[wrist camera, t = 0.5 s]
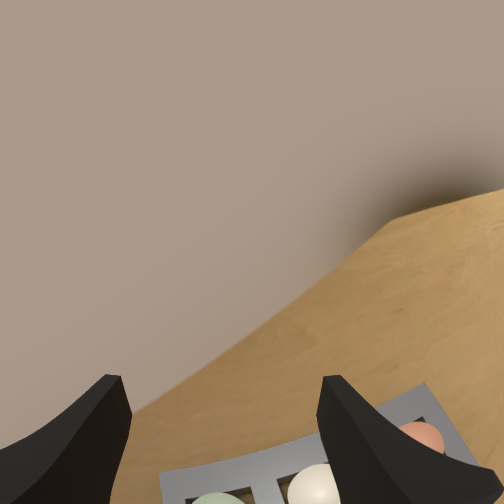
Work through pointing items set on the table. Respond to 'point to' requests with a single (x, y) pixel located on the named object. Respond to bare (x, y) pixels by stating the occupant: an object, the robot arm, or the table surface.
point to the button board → (300, 457)
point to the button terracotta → (425, 434)
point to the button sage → (217, 499)
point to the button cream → (314, 486)
